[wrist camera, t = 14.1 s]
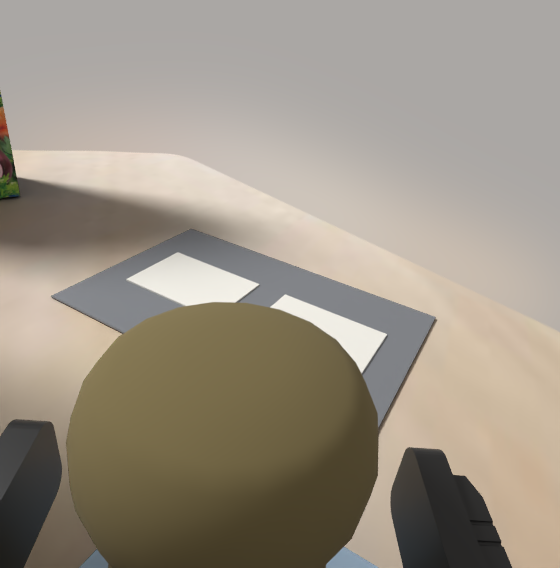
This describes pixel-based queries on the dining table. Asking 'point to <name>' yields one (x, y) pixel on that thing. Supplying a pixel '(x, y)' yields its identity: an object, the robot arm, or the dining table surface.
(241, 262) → the label mat
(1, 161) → the blue food package
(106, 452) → the cork
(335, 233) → the dining table surface
